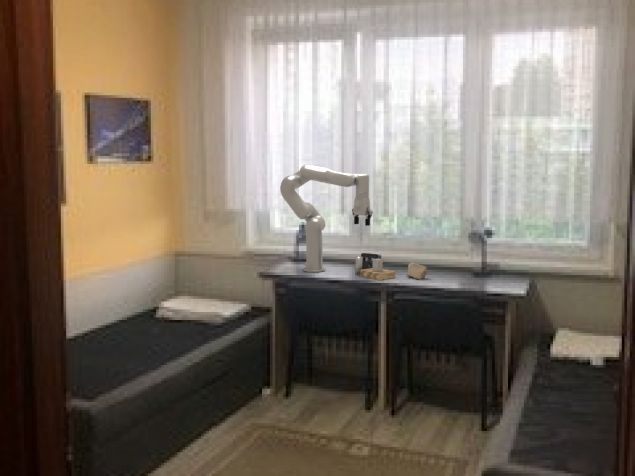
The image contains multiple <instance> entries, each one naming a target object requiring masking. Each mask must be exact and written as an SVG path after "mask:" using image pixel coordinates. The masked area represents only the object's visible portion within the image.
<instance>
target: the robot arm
mask: <svg viewBox="0 0 635 476" xmlns="http://www.w3.org/2000/svg"><path fill="white" fill-rule="evenodd" d="M309 181H314V182H319V183H324V184H329V185H334V186H338V187H345V188H350V187H355V197H354V200H353V208H352V209H351V212H352V216H353V225H359V224H360V218H359V216H364V217H365V221H364V223H365V224H364V226H365V227H367V226H371V218H372V216H373V214H374V211H373V210H372V209H371V201H370V175H369V174H367V173H352V172H349V173H346V172H338V171H335V170H332V169H330V168H327V167H323V166H315V165H312V164H304V165H302V166H301V167H300V169H299V170H298V171H297V172H295V173H294V174H292V175H291V174H290V175H287V176H285V177H284V178H283V179H282V180H281V183H280V185H279V186H280V187H279V189H280V195H281V197H282V198H283V199H284V201H285V202H286V203H287V204H288V205H289V208H290V209H291V211H293V213H294V214H295V215H296V216H297V218H299V219H300V220H304V221H305V222H306V223H305V228H304V230H305V242H306V243H305V244H306V247H305V249H306V258H305V259H306V262H304V263H303V266H305V267H304V268H303V271H304V272H306V273H307V272H308V273H321V272H324V271H326V268H325V267H323V233H322V231H324V229H325V227H326V221H325V219H324V217H323V216H322V215H321V214H320V211H318V209H316V208H315V206H314V205H313V204H311V203H310V202H308V201H307V202H305V200H304V199H303V198H302V197H301V195H299V194H298V192H297V191H296V190H297V189H298V188H299V189H300V188H301V187H302V186H304V185H306V183H308V182H309Z"/></svg>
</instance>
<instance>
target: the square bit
mask: <svg viewBox="0 0 635 476" xmlns="http://www.w3.org/2000/svg"><path fill="white" fill-rule="evenodd" d="M383 260H384V259H382V258H381V259H373V271H376V272H380V271H383V269H384V268H383V267H384V266H383V264H384V261H383Z"/></svg>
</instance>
